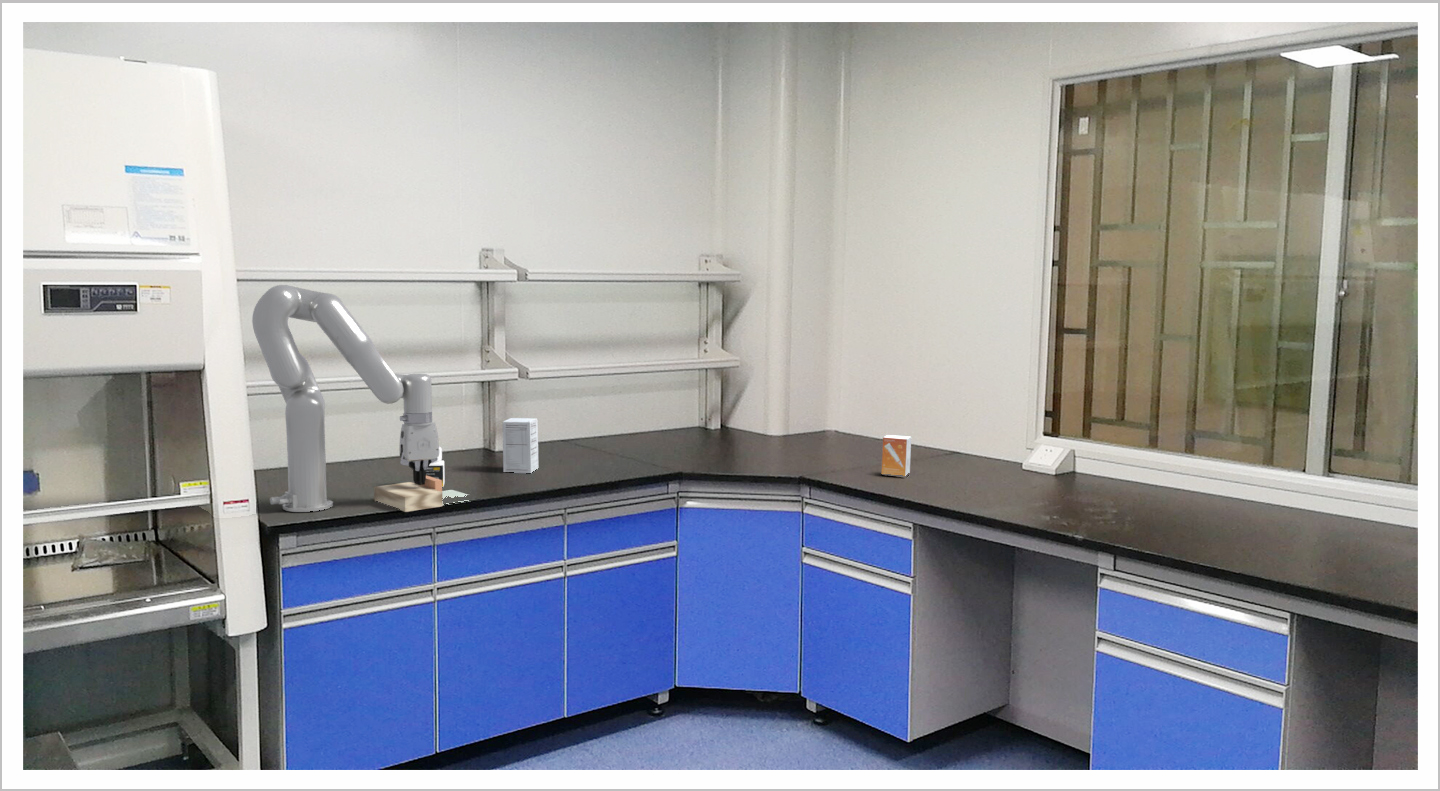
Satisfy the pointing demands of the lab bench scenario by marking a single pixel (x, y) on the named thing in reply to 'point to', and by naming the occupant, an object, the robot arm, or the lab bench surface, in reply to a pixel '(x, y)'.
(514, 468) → the supplement box
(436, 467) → the medicine bottle
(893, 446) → the small box
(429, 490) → the beige wooden block
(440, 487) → the salmon orange block
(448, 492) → the mat
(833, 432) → the lab bench surface
